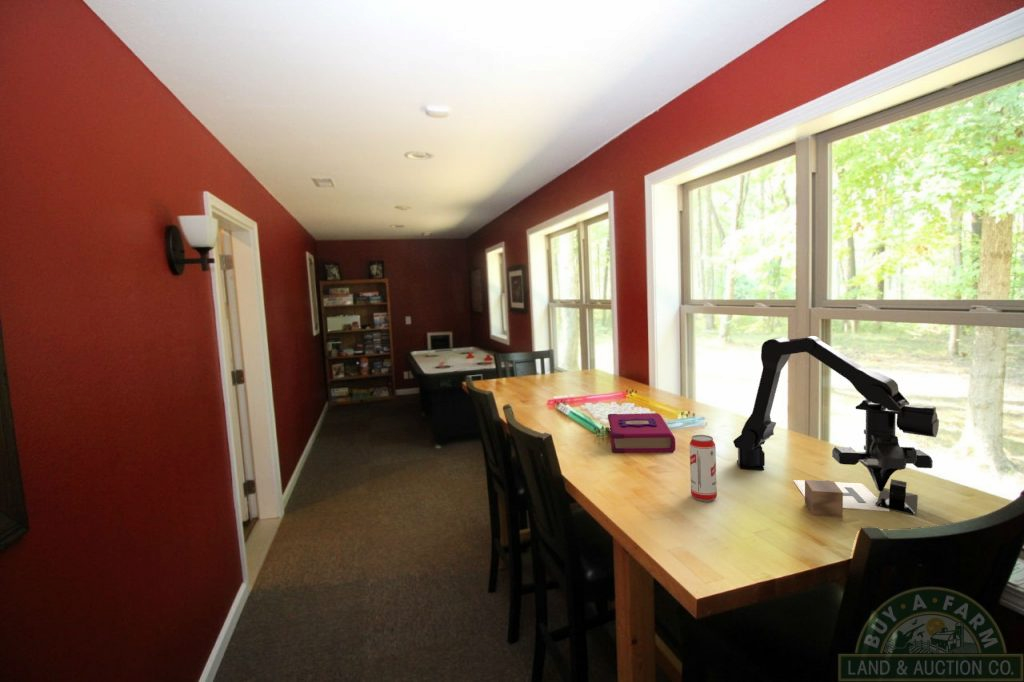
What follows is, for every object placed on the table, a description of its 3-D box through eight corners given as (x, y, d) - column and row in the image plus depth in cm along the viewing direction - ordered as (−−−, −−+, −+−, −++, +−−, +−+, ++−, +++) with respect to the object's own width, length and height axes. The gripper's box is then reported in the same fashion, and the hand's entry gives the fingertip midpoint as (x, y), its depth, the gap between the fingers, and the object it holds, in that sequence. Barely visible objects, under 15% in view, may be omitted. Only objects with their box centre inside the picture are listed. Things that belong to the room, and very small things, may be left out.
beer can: (715, 493, 123) (714, 434, 121) (718, 503, 117) (716, 442, 115) (690, 491, 125) (688, 433, 123) (691, 501, 119) (689, 440, 118)
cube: (812, 515, 108) (812, 490, 107) (804, 503, 114) (804, 479, 113) (842, 517, 106) (842, 492, 105) (833, 504, 112) (833, 481, 111)
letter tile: (810, 506, 112) (810, 504, 112) (792, 480, 128) (792, 479, 128) (890, 511, 108) (890, 510, 107) (861, 484, 123) (861, 483, 123)
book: (662, 430, 183) (661, 411, 182) (675, 453, 156) (675, 431, 155) (608, 431, 186) (607, 412, 186) (612, 454, 159) (611, 432, 158)
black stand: (915, 515, 105) (916, 496, 105) (874, 506, 110) (875, 487, 109) (917, 496, 114) (918, 478, 114) (879, 488, 119) (880, 470, 118)
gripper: (847, 437, 109) (847, 501, 110) (946, 440, 103) (945, 508, 104) (831, 424, 119) (831, 483, 120) (920, 426, 113) (919, 488, 115)
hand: (879, 490), depth 115 cm, fingers closed
